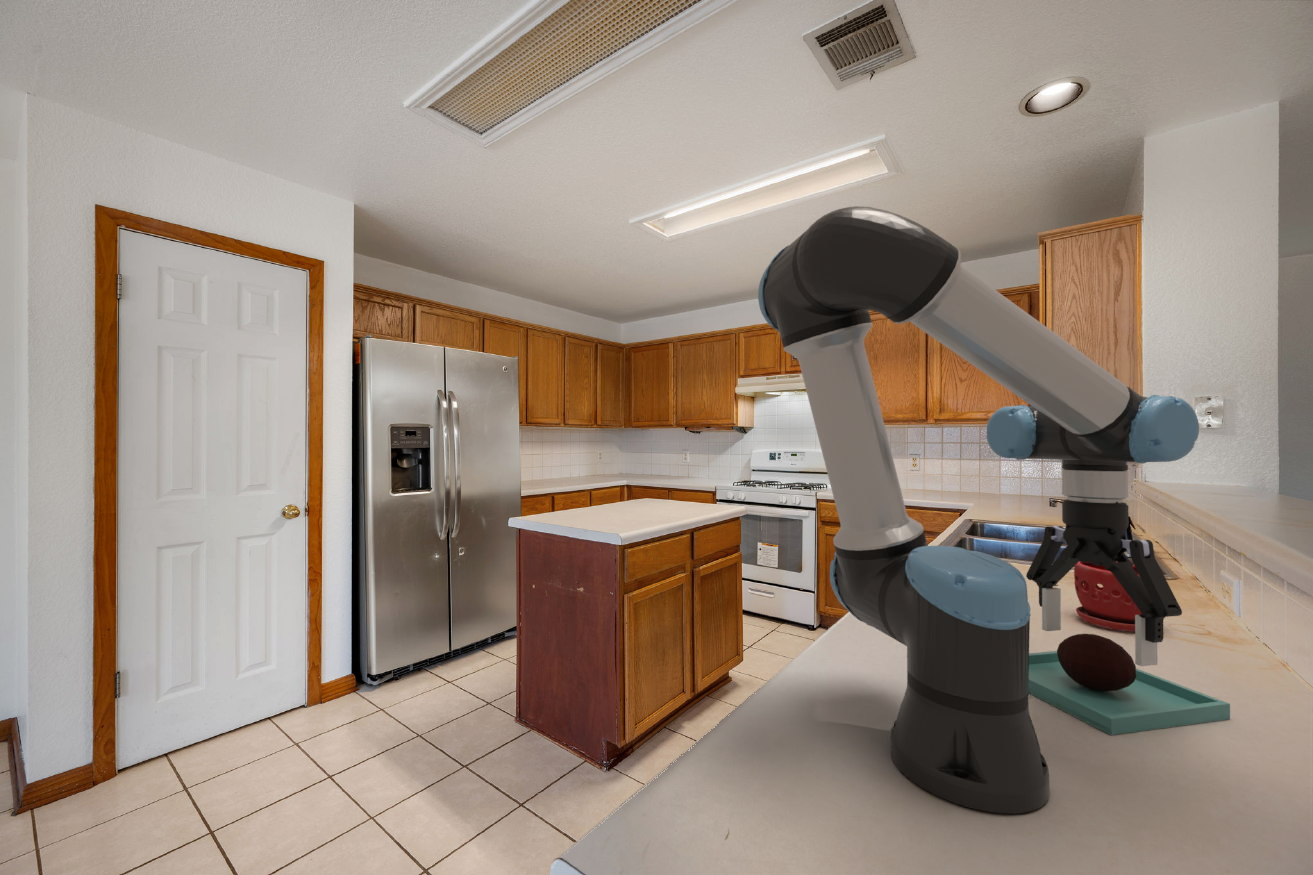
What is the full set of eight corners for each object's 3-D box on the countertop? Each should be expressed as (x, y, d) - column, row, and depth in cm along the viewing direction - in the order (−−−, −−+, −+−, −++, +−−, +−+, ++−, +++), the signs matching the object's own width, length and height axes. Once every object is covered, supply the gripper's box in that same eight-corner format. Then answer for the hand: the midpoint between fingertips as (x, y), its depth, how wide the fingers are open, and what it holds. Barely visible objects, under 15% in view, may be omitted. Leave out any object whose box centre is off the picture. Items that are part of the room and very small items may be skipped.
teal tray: (1111, 735, 67) (1111, 718, 67) (983, 670, 86) (983, 657, 86) (1230, 718, 71) (1230, 703, 71) (1083, 660, 90) (1083, 648, 90)
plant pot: (1092, 632, 104) (1092, 570, 104) (1063, 612, 116) (1062, 556, 116) (1176, 640, 100) (1176, 575, 100) (1136, 618, 112) (1136, 560, 113)
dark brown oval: (1069, 670, 84) (1068, 621, 84) (1146, 694, 77) (1146, 639, 77) (1045, 682, 80) (1045, 630, 80) (1125, 708, 72) (1124, 650, 72)
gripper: (1218, 509, 67) (1220, 680, 67) (1038, 491, 92) (1038, 617, 91) (1172, 510, 66) (1173, 685, 65) (1001, 492, 90) (1001, 619, 90)
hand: (1094, 645), depth 78 cm, fingers open, 13 cm apart
